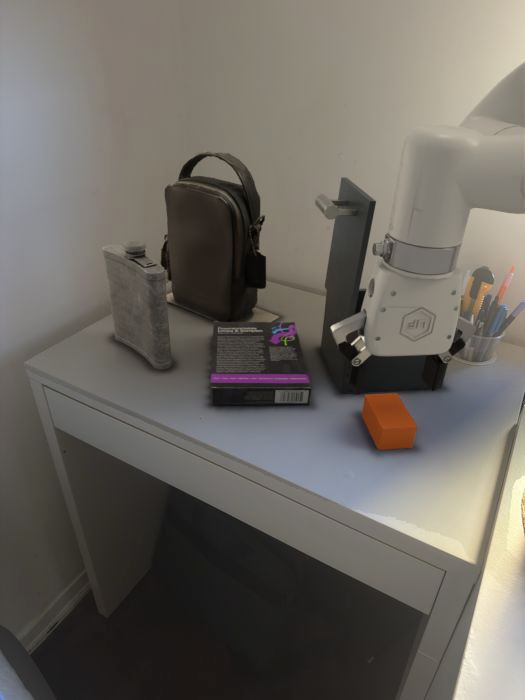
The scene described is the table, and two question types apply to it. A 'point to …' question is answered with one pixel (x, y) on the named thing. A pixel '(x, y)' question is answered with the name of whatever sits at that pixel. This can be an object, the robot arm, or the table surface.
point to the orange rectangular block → (388, 421)
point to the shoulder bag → (215, 244)
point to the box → (258, 364)
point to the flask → (138, 301)
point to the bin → (370, 359)
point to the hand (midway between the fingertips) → (391, 386)
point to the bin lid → (347, 243)
